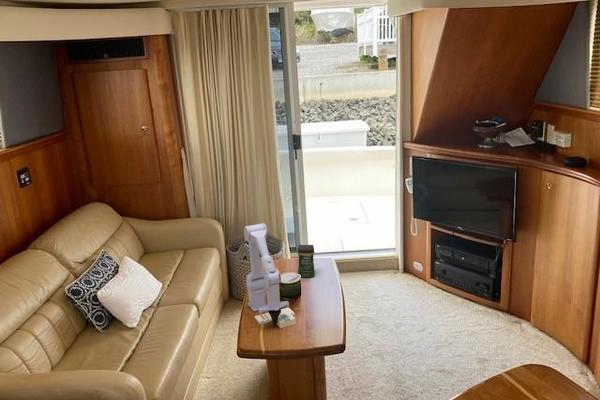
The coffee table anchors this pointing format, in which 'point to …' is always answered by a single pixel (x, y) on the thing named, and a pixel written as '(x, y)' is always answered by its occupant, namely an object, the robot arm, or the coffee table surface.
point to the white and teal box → (286, 320)
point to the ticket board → (267, 318)
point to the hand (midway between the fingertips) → (274, 323)
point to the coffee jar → (306, 261)
